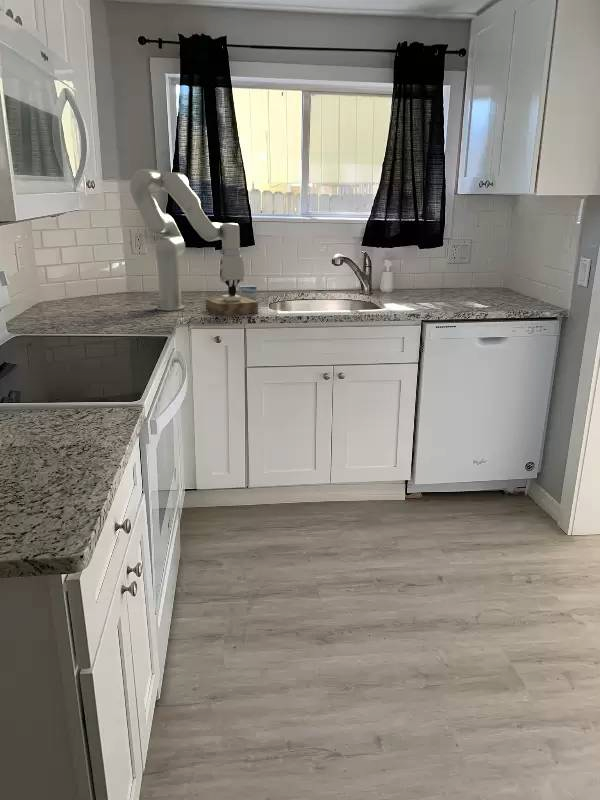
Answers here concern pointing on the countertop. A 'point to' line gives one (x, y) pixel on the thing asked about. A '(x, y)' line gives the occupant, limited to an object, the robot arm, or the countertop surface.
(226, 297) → the button
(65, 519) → the countertop surface
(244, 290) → the medicine box
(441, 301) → the countertop surface
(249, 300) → the wooden block
